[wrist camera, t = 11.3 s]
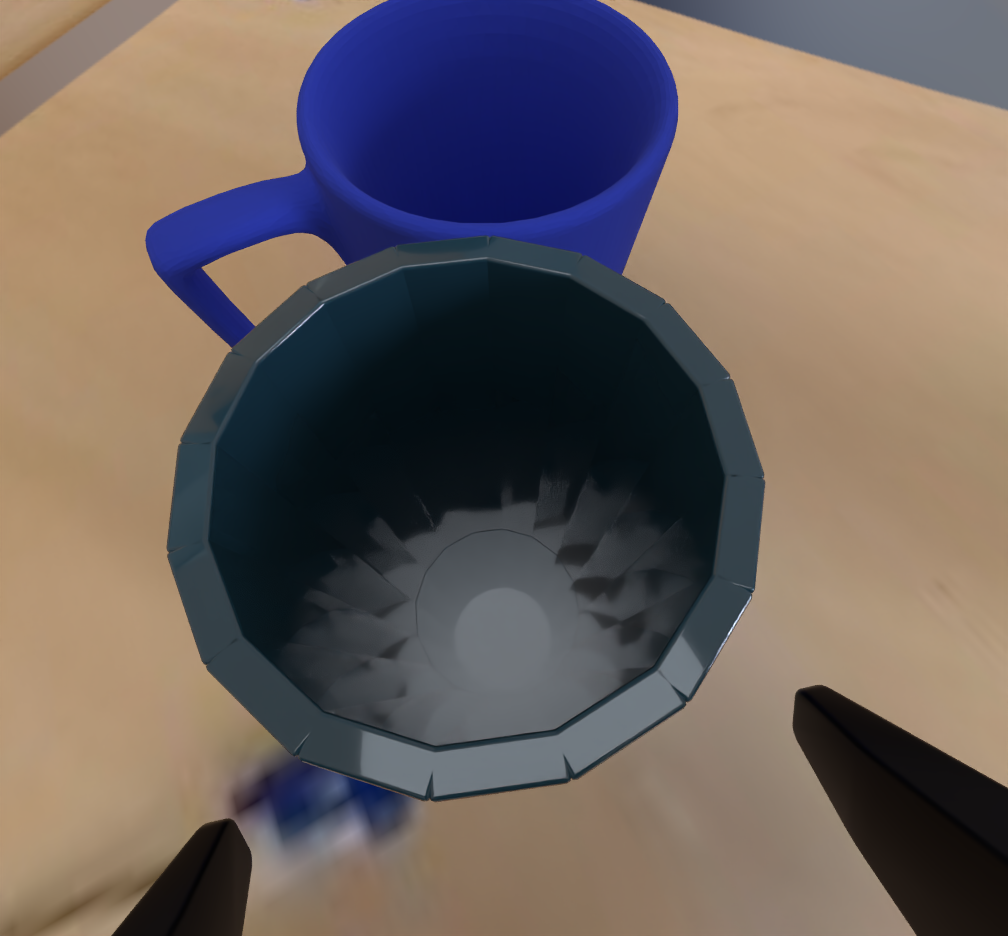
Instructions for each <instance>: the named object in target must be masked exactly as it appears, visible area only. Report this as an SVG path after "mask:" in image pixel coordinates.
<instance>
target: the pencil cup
mask: <svg viewBox="0 0 1008 936" xmlns="http://www.w3.org/2000/svg"><path fill="white" fill-rule="evenodd" d="M231 351H232V352H229V353H228V354H227V355H226V357H225V359H224V361H223V362H222V364H221V366H220V368H219V370H218V372H217V373H216V375H215V377H214V379H213V381H212V382H211V384H210V386H209V388H208V390H207V392H206V393H205V395H204V397H203V399H202V401H201V402H200V404H199V406H198V408H197V410H196V412H195V413H194V415H193V417H192V419H191V421H190V422H189V424H188V426H187V428H186V430H185V432H184V433H183V435H182V437H181V440H180V441H181V444H179V446H178V452H177V461H176V470H175V478H174V487H173V496H172V505H171V513H170V522H169V531H168V539H167V551H168V552H169V553H168V555H167V557H168V560H169V563H170V566H171V569H172V572H173V575H174V578H175V581H176V585H177V588H178V591H179V594H180V597H181V600H182V603H183V606H184V609H185V612H186V615H187V618H188V621H189V624H190V627H191V630H192V633H193V636H194V639H195V642H196V645H197V648H198V651H199V654H200V657H201V660H202V662H203V663H204V664H205V665H207V666H206V668H207V670H208V672H209V673H210V674H211V675H212V676H213V677H214V678H215V679H216V680H217V681H218V682H219V683H220V684H221V685H222V686H223V687H224V688H225V689H226V690H227V691H228V692H229V693H230V694H231V695H232V696H233V697H234V698H235V699H236V700H237V701H238V702H239V703H240V704H241V705H242V706H243V707H244V708H245V709H246V710H247V711H248V712H249V713H250V714H251V715H252V716H253V717H254V718H255V719H256V720H257V721H258V722H259V723H260V724H261V725H262V726H263V727H264V728H265V729H266V730H267V731H268V732H269V733H270V734H271V735H272V736H273V737H274V738H275V739H276V740H277V741H278V742H279V743H280V744H281V745H282V746H283V747H284V748H285V749H286V750H287V751H288V752H289V753H290V754H291V755H293V756H296V757H297V756H298V758H299V759H300V760H301V761H302V762H305V763H308V764H311V765H314V766H317V767H320V768H323V769H326V770H329V771H332V772H335V773H339V774H342V775H345V776H348V777H351V778H354V779H357V780H360V781H363V782H366V783H369V784H372V785H375V786H378V787H381V788H384V789H387V790H390V791H393V792H396V793H400V794H403V795H406V796H409V797H412V798H415V799H418V800H421V801H429V799H431V801H433V802H442V801H449V800H456V799H463V798H470V797H477V796H484V795H491V794H498V793H505V792H512V791H519V790H526V789H533V788H540V787H547V786H554V785H561V784H567V783H568V782H570V781H571V779H572V780H577V779H579V778H581V777H582V776H584V775H585V774H587V773H588V772H590V771H591V770H593V769H594V768H596V767H597V766H599V765H600V764H602V763H603V762H605V761H606V760H608V759H609V758H611V757H612V756H614V755H615V754H617V753H618V752H620V751H621V750H623V749H624V748H626V747H627V746H629V745H630V744H632V743H633V742H635V741H636V740H637V739H639V738H640V737H642V736H643V735H645V734H646V733H648V732H649V731H651V730H652V729H654V728H655V727H657V726H658V725H660V724H661V723H663V722H664V721H666V720H667V719H669V718H670V717H672V716H673V715H675V714H676V713H678V712H679V711H681V710H682V709H684V707H685V706H686V702H690V701H691V700H692V699H693V697H694V695H695V694H696V692H697V690H698V689H699V687H700V685H701V684H702V682H703V680H704V678H705V677H706V675H707V673H708V672H709V670H710V668H711V667H712V665H713V663H714V662H715V660H716V658H717V657H718V655H719V653H720V652H721V650H722V648H723V647H724V645H725V643H726V641H727V640H728V638H729V636H730V635H731V633H732V631H733V630H734V628H735V626H736V625H737V623H738V621H739V620H740V618H741V616H742V615H743V613H744V611H745V609H746V608H747V606H748V604H749V603H750V601H751V599H752V594H751V593H753V592H754V590H755V582H756V572H757V562H758V551H759V541H760V531H761V521H762V511H763V500H764V490H765V480H764V479H763V478H764V472H763V469H762V466H761V463H760V460H759V457H758V454H757V451H756V448H755V445H754V442H753V439H752V436H751V433H750V430H749V427H748V424H747V421H746V418H745V415H744V412H743V409H742V406H741V403H740V400H739V397H738V394H737V391H736V388H735V385H734V382H733V380H732V379H730V374H729V373H728V372H727V371H726V370H725V368H724V367H723V366H722V365H721V364H720V362H719V361H718V360H717V359H716V358H715V357H714V355H713V354H712V353H711V352H710V351H709V350H708V348H707V347H706V346H705V345H704V344H703V343H702V341H701V340H700V339H699V338H698V337H697V335H696V334H695V333H694V332H693V331H692V330H691V328H690V327H689V326H688V325H687V324H686V323H685V321H684V320H683V319H682V318H681V317H680V315H679V314H678V313H677V312H676V311H675V310H674V308H673V307H672V306H671V305H670V304H669V303H666V302H665V300H664V299H663V298H661V297H659V296H657V295H656V294H654V293H652V292H650V291H649V290H647V289H645V288H643V287H641V286H640V285H638V284H636V283H634V282H633V281H631V280H629V279H627V278H626V277H624V276H622V275H620V274H619V273H617V272H615V271H613V270H612V269H610V268H608V267H606V266H605V265H603V264H601V263H599V262H597V261H596V260H594V259H592V258H590V257H589V256H587V255H583V256H582V254H581V253H579V252H574V251H569V250H564V249H559V248H554V247H549V246H544V245H539V244H534V243H529V242H524V241H519V240H514V239H509V238H504V237H499V236H494V235H493V236H490V238H489V236H487V235H482V236H473V237H464V238H454V239H445V240H435V241H426V242H417V243H407V244H398V245H396V247H394V246H391V247H388V248H386V249H384V250H381V251H379V252H377V253H374V254H372V255H370V256H367V257H365V258H363V259H360V260H358V261H356V262H354V263H351V264H349V265H347V266H344V267H342V268H340V269H337V270H335V271H333V272H330V273H328V274H326V275H323V276H321V277H319V278H316V279H314V280H312V281H310V282H308V283H307V286H305V285H304V286H301V287H300V288H299V289H298V290H297V291H296V292H295V293H294V294H292V295H291V296H290V297H289V298H288V299H287V300H286V301H284V302H283V303H282V304H281V305H280V306H279V307H278V308H277V309H275V310H274V311H273V312H272V313H271V314H270V315H269V316H267V317H266V318H265V319H264V320H263V321H262V322H261V323H260V324H258V325H257V326H256V327H255V328H254V329H253V330H252V331H250V332H249V333H248V334H247V335H246V336H245V337H244V338H243V339H241V340H240V341H239V342H238V343H237V344H236V345H235V346H233V347H232V349H231Z"/></svg>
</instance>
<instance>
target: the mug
mask: <svg viewBox="0 0 1008 936" xmlns="http://www.w3.org/2000/svg"><path fill="white" fill-rule="evenodd" d="M677 122H678V95H677V89H676V84H675V81H674V78H673V75H672V72H671V70H670V68H669V66H668V64H667V62H666V60H665V58H664V56H663V54H662V53H661V51H660V50H659V48H658V47H657V46H656V45H655V43H654V42H653V41H652V39H651V38H650V37H649V36H648V35H647V34H646V33H645V32H644V31H643V30H642V29H641V28H639V27H638V26H637V25H636V24H635V23H633V22H632V21H631V20H630V19H628V18H627V17H625V16H624V15H622V14H621V13H619V12H617V11H616V10H614V9H612V8H611V7H609V6H607V5H606V4H604V3H601V2H599V1H597V0H388V1H386V2H383V3H381V4H379V5H377V6H375V7H374V8H372V9H370V10H368V11H367V12H365V13H363V14H361V15H360V16H358V17H357V18H355V19H354V20H352V21H351V22H350V23H348V24H347V25H345V26H344V27H343V28H342V29H341V30H339V31H338V32H337V33H336V34H335V35H334V36H333V37H332V38H331V39H330V40H329V41H328V42H327V43H326V44H325V45H324V46H323V47H322V49H321V50H320V51H319V53H318V54H317V55H316V57H315V59H314V60H313V62H312V64H311V65H310V67H309V69H308V71H307V72H306V75H305V77H304V80H303V83H302V86H301V89H300V92H299V97H298V103H297V128H298V135H299V140H300V143H301V147H302V150H303V153H304V155H305V158H306V166H305V168H304V170H302V171H301V172H300V173H298V174H294V175H291V176H287V177H281V178H276V179H270V180H264V181H260V182H257V183H253V184H249V185H246V186H242V187H238V188H235V189H232V190H229V191H226V192H223V193H220V194H217V195H215V196H212V197H209V198H207V199H204V200H202V201H199V202H197V203H194V204H192V205H189V206H186V207H184V208H182V209H180V210H178V211H176V212H174V213H172V214H170V215H168V216H166V217H164V218H162V219H160V220H159V221H157V222H155V223H154V224H153V225H152V226H151V227H150V228H149V229H148V230H147V234H146V240H145V241H146V248H147V252H148V254H149V257H150V260H151V263H152V265H153V268H154V270H155V271H156V273H157V274H158V275H159V276H160V278H161V279H162V280H163V281H164V282H165V283H166V284H167V286H168V287H169V288H170V289H171V290H172V291H173V292H174V293H175V294H176V295H177V296H178V297H179V298H180V299H181V300H182V301H183V302H184V303H185V304H186V305H187V306H188V307H189V308H190V309H191V310H192V311H194V312H195V313H196V314H197V315H198V316H199V317H200V318H201V319H202V320H203V321H204V322H205V323H206V324H207V325H208V326H209V327H210V328H211V329H212V330H213V331H214V332H215V333H216V334H217V335H219V336H220V337H221V338H222V339H223V340H224V341H225V342H226V343H228V344H229V345H230V346H231V347H233V346H235V345H236V344H237V343H238V342H239V341H240V340H241V339H243V338H244V337H245V336H246V335H247V334H248V333H249V332H250V331H252V330H253V329H254V328H255V326H254V325H253V324H252V323H251V322H250V321H249V320H248V318H247V317H246V316H245V315H244V314H243V313H242V312H241V311H240V310H239V309H238V308H237V307H236V306H235V305H234V304H233V303H232V302H231V301H230V300H229V299H228V297H227V296H226V295H225V294H224V293H223V292H222V291H221V290H220V288H219V287H218V286H217V285H216V284H215V283H214V282H213V281H212V279H211V278H210V277H209V276H208V275H207V274H206V273H205V272H204V270H203V269H202V268H201V267H203V266H205V265H207V264H209V263H211V262H213V261H215V260H217V259H219V258H221V257H224V256H226V255H228V254H230V253H233V252H236V251H238V250H241V249H244V248H247V247H249V246H252V245H255V244H258V243H260V242H263V241H266V240H269V239H272V238H275V237H279V236H283V235H288V234H293V233H309V234H313V235H316V236H318V237H320V238H321V239H323V240H324V241H326V242H327V243H328V244H329V245H331V246H332V247H333V248H334V250H335V251H336V252H337V253H338V254H339V256H340V257H341V258H342V260H343V261H344V262H345V264H346V265H349V264H351V263H354V262H356V261H358V260H360V259H363V258H365V257H367V256H370V255H372V254H374V253H377V252H379V251H381V250H384V249H386V248H388V247H391V246H394V247H396V245H398V244H407V243H417V242H426V241H435V240H445V239H454V238H464V237H473V236H482V235H487V236H489V238H490V236H493V235H494V236H499V237H504V238H509V239H514V240H519V241H524V242H529V243H534V244H539V245H544V246H549V247H554V248H559V249H564V250H569V251H574V252H579V253H581V254H582V256H583V255H587V256H589V257H590V258H592V259H594V260H596V261H597V262H599V263H601V264H603V265H605V266H606V267H608V268H610V269H612V270H613V271H615V272H617V273H619V274H620V275H622V273H623V270H624V268H625V265H626V263H627V260H628V257H629V255H630V252H631V250H632V247H633V244H634V242H635V239H636V237H637V234H638V231H639V229H640V226H641V224H642V221H643V218H644V216H645V213H646V211H647V208H648V205H649V203H650V200H651V198H652V195H653V192H654V190H655V187H656V185H657V182H658V180H659V177H660V174H661V172H662V169H663V167H664V164H665V161H666V159H667V156H668V154H669V151H670V148H671V146H672V143H673V140H674V136H675V132H676V127H677Z"/></svg>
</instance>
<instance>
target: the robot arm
mask: <svg viewBox="0 0 1008 936" xmlns="http://www.w3.org/2000/svg"><path fill="white" fill-rule="evenodd" d="M793 731H794V734H795V737H796V740H797V741H798V743H799V745H800V747H801V749H802V751H803V752H804V754H805V756H806V758H807V760H808V761H809V763H810V765H811V767H812V769H813V770H814V772H815V774H816V776H817V778H818V779H819V781H820V783H821V785H822V787H823V788H824V790H825V792H826V794H827V795H828V797H829V799H830V801H831V803H832V804H833V806H834V808H835V810H836V812H837V813H838V815H839V817H840V819H841V821H842V822H843V824H844V826H845V828H846V829H847V831H848V833H849V834H850V836H851V838H852V840H853V841H854V843H855V844H856V846H857V847H858V849H859V850H860V852H861V854H862V855H863V857H864V858H865V860H866V861H867V863H868V864H869V866H870V867H871V869H872V870H873V872H874V873H875V874H876V876H877V877H878V879H879V880H880V882H881V883H882V885H883V886H884V888H885V889H886V891H887V892H888V894H889V895H890V897H891V898H892V900H893V901H894V903H895V904H896V906H897V907H898V908H899V910H900V911H901V913H902V914H903V916H904V917H905V919H906V920H907V922H908V923H909V925H910V926H911V928H912V929H913V931H914V932H915V934H916V935H917V936H1008V788H1007V787H1005V786H1003V785H1002V784H1000V783H998V782H996V781H994V780H993V779H991V778H989V777H987V776H986V775H984V774H982V773H980V772H978V771H977V770H975V769H973V768H971V767H969V766H968V765H966V764H964V763H962V762H961V761H959V760H957V759H955V758H953V757H952V756H950V755H948V754H946V753H944V752H943V751H941V750H939V749H937V748H936V747H934V746H932V745H930V744H928V743H927V742H925V741H923V740H921V739H919V738H918V737H916V736H914V735H912V734H911V733H909V732H907V731H905V730H903V729H902V728H900V727H898V726H896V725H894V724H893V723H891V722H889V721H887V720H886V719H884V718H882V717H880V716H878V715H877V714H875V713H873V712H871V711H870V710H868V709H866V708H864V707H862V706H861V705H859V704H857V703H855V702H853V701H852V700H850V699H848V698H846V697H845V696H843V695H841V694H839V693H837V692H836V691H834V690H832V689H830V688H828V687H826V686H823V685H815V686H810V687H806V688H802V689H799V690H798V691H797V692H796V694H795V702H794V713H793ZM251 870H252V856H251V851H250V849H249V847H248V845H247V843H246V841H245V839H244V838H243V836H242V834H241V832H240V830H239V828H238V826H237V825H236V823H235V821H234V820H232V819H230V818H228V819H223V820H218V821H214V822H209V823H206V824H204V825H203V826H201V827H200V828H199V829H198V830H197V831H196V832H195V833H194V835H193V836H192V837H191V838H190V840H189V841H188V842H187V843H186V845H185V846H184V847H183V848H182V849H181V851H180V852H179V853H178V854H177V856H176V857H175V858H174V859H173V861H172V862H171V863H170V864H169V865H168V867H167V868H166V869H165V870H164V872H163V873H162V874H161V875H160V877H159V878H158V879H157V880H156V881H155V883H154V884H153V885H152V886H151V888H150V889H149V890H148V891H147V893H146V894H145V895H144V896H143V897H142V899H141V900H140V901H139V902H138V904H137V905H136V906H135V907H134V908H133V910H132V911H131V912H130V913H129V915H128V916H127V917H126V918H125V920H124V921H123V922H122V923H121V924H120V926H119V927H118V928H117V929H116V931H115V932H114V933H113V934H112V936H242V932H243V925H244V918H245V911H246V904H247V897H248V890H249V884H250V877H251Z"/></svg>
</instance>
